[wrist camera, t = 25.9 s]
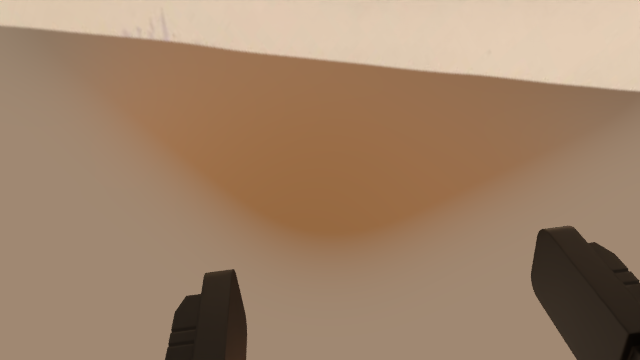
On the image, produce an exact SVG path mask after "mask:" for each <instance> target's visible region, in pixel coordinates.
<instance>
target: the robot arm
mask: <svg viewBox="0 0 640 360" xmlns="http://www.w3.org/2000/svg"><path fill="white" fill-rule="evenodd" d="M531 281H532V286H533V290H534V292H535V295H536V296H537V298H538V300H539V301H540V303H541V305H542V306H543V308H544V309H545V311H546V312H547V314H548V315H549V317H550V318H551V320H552V322H553V323H554V325H555V326H556V328H557V329H558V331H559V332H560V334H561V336H562V337H563V339H564V340H565V342H566V343H567V345H568V346H569V348H570V350H571V351H572V353H573V354H574V356H575V357H576V359H577V360H640V283H639V280H638V279H637V278H636V277H635V276H634V274H633V273H632V272H629V271H628V268H627V267H626V266H625V265H624V264H623V263H622V261H621V260H620V259H619V258H618V257H617V256H616V255H615V254H614V253H612V252H610V251H609V250H607V249H605V248H604V247H602V246H600V245H599V244H597V243H595V242H593V243H587V242H586V240H585V239H584V238H583V237H582V236H581V235H580V234H579V232H578V231H577V230H576V229H575V228H574V227H572V226H563V227H555V228H548V229H542V230H540V231H539V233H538V236H537V241H536V248H535V253H534V259H533V265H532V271H531ZM171 330H172V333H171V334H170V339H169V347H168V349H167V353H166V358H165V360H246V346H247V325H246V315H245V310H244V306H243V302H242V298H241V293H240V289H239V285H238V281H237V277H236V273H235V271H234V269H232V270H225V271H218V272H210V273H205V275H204V280H203V286H202V293H201V294H198V295H190V296H186V297H185V299H184V300H183V301H182V303H181V304H180V306H179V307H178V309H177V310H176V311H175V314H174V319H173V324H172V329H171Z"/></svg>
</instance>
